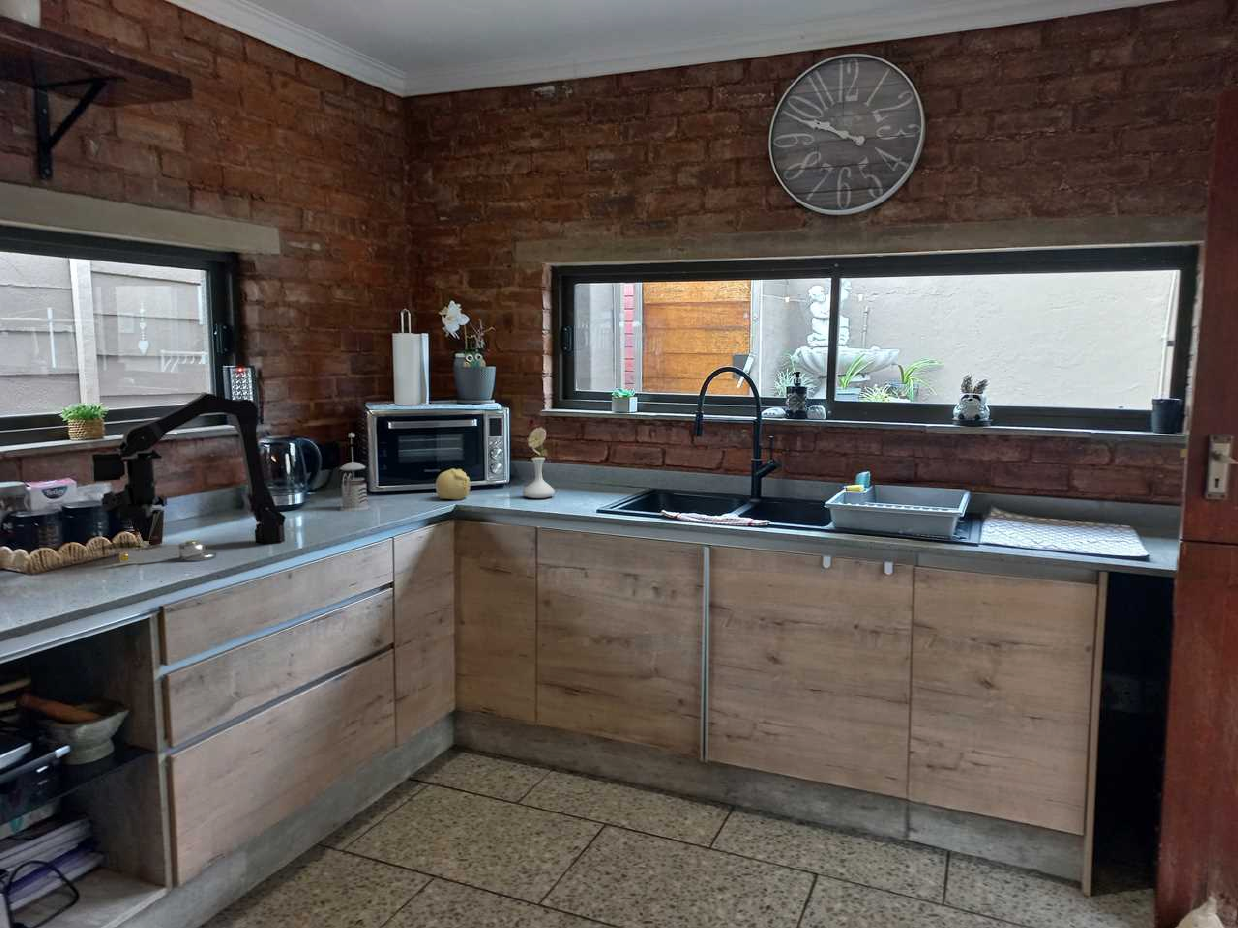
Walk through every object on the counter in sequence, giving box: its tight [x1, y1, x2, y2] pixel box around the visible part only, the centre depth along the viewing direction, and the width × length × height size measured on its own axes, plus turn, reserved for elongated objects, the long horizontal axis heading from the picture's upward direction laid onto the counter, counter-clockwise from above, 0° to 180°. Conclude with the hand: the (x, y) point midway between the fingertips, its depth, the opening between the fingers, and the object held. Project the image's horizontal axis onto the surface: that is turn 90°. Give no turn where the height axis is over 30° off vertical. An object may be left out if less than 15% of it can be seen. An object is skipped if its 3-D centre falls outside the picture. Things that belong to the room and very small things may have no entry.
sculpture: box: [435, 467, 472, 500], centre depth 303 cm, size 12×12×11 cm
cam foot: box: [118, 540, 217, 564], centre depth 212 cm, size 21×8×4 cm, turn 120°
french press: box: [339, 432, 371, 512], centre depth 284 cm, size 10×12×25 cm
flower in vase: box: [522, 426, 556, 499], centre depth 303 cm, size 13×11×25 cm
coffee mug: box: [131, 507, 165, 547], centre depth 231 cm, size 12×9×10 cm
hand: (146, 540), depth 214 cm, fingers closed
